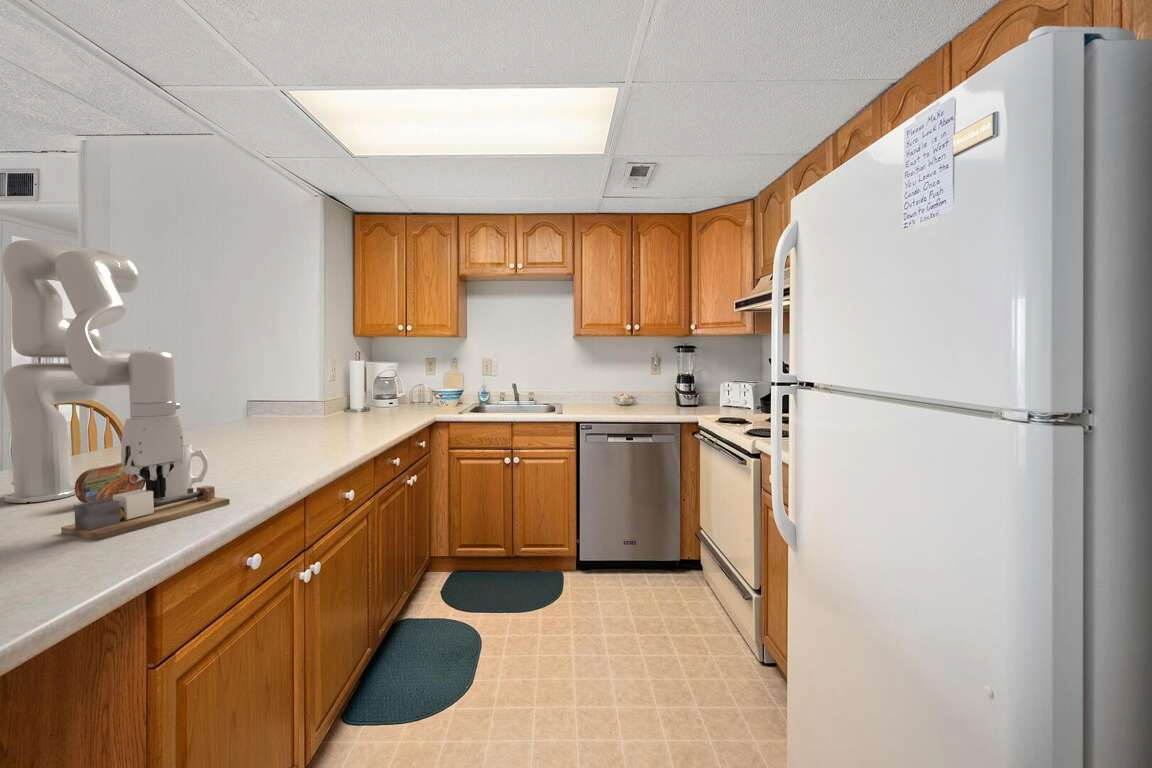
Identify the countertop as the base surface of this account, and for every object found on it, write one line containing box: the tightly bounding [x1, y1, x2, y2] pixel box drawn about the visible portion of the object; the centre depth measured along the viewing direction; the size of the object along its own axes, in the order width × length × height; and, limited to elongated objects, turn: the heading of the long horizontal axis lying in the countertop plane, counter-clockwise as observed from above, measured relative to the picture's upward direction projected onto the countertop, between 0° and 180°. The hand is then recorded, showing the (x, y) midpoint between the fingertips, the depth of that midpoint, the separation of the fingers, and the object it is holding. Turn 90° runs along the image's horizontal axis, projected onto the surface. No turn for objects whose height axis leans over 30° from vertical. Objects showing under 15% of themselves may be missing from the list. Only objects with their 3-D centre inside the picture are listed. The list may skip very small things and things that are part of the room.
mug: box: [161, 443, 209, 500], centre depth 134 cm, size 10×7×12 cm, turn 118°
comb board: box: [60, 485, 231, 541], centre depth 116 cm, size 11×26×6 cm, turn 161°
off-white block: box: [113, 489, 155, 520], centre depth 112 cm, size 4×5×4 cm
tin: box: [74, 462, 146, 504], centre depth 129 cm, size 15×3×8 cm, turn 170°
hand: (156, 497), depth 116 cm, fingers closed
